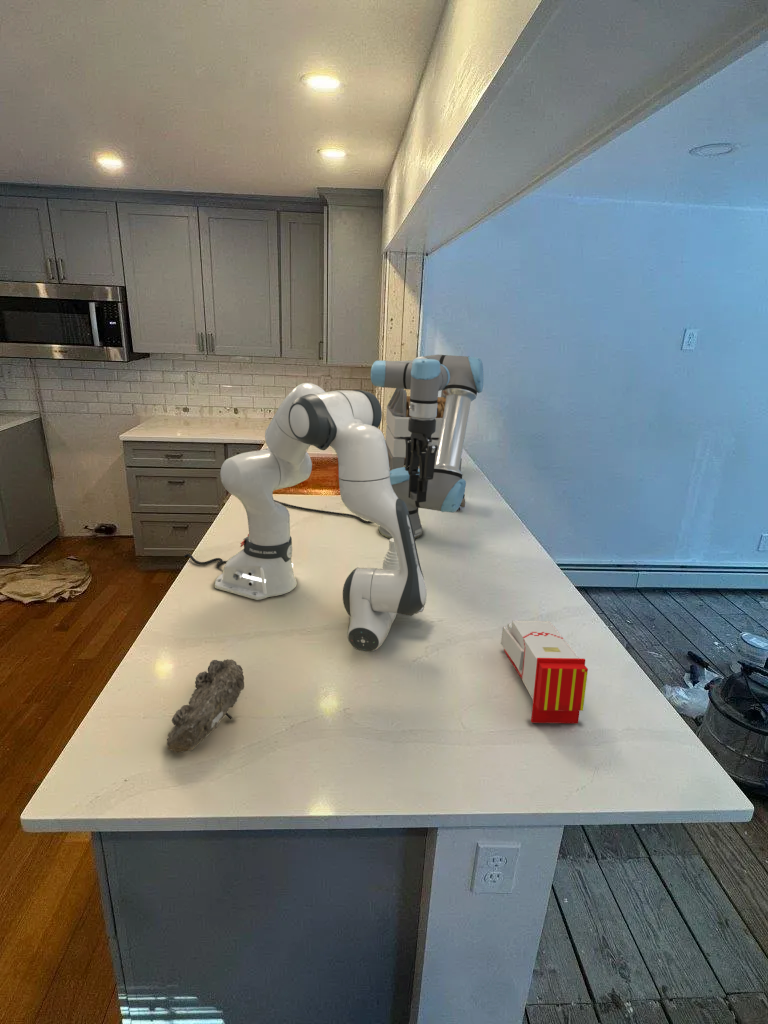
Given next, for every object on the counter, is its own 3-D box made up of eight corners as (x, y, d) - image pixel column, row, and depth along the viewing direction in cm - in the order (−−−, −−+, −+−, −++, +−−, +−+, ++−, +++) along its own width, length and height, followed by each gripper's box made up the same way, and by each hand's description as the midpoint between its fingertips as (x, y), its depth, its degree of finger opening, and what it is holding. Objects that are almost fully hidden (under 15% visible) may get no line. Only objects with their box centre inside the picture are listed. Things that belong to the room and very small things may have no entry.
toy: (547, 606, 135) (596, 665, 106) (541, 658, 138) (589, 729, 108) (496, 604, 134) (532, 664, 105) (492, 657, 137) (526, 729, 108)
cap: (410, 496, 164) (411, 489, 163) (424, 497, 164) (424, 490, 163) (409, 500, 160) (410, 493, 160) (423, 501, 160) (424, 494, 159)
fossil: (192, 660, 117) (244, 628, 112) (224, 691, 120) (276, 661, 115) (142, 746, 98) (202, 712, 93) (182, 779, 101) (242, 748, 96)
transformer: (382, 463, 289) (386, 382, 275) (445, 464, 293) (451, 384, 279) (390, 482, 257) (394, 392, 243) (460, 483, 261) (468, 394, 247)
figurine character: (465, 515, 224) (460, 499, 237) (467, 498, 221) (462, 483, 234) (448, 515, 224) (444, 499, 237) (450, 498, 220) (445, 482, 234)
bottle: (405, 604, 152) (409, 540, 146) (390, 610, 149) (394, 545, 143) (391, 597, 156) (394, 534, 150) (376, 602, 153) (379, 539, 146)
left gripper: (423, 601, 135) (432, 577, 148) (341, 589, 140) (356, 566, 152) (421, 624, 137) (430, 598, 150) (340, 611, 142) (356, 587, 154)
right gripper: (395, 413, 159) (391, 492, 167) (427, 424, 146) (421, 510, 153) (418, 411, 163) (413, 489, 171) (451, 422, 149) (444, 506, 157)
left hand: (392, 582), depth 151 cm, fingers closed on bottle, 5 cm apart
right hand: (417, 499), depth 162 cm, fingers closed on cap, 4 cm apart
